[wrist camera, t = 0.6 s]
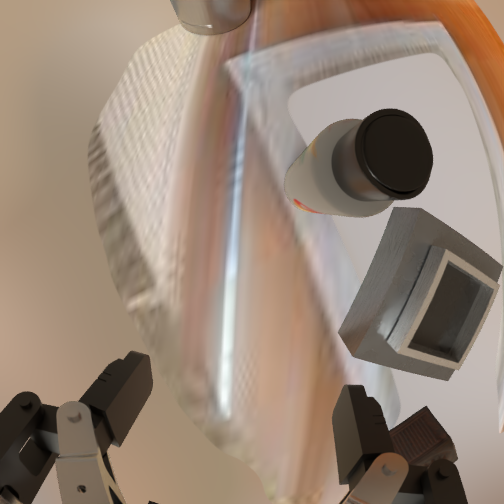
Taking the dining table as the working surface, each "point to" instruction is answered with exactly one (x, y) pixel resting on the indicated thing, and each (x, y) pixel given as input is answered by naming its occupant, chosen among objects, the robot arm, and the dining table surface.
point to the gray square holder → (421, 297)
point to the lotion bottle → (361, 166)
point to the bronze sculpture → (422, 440)
